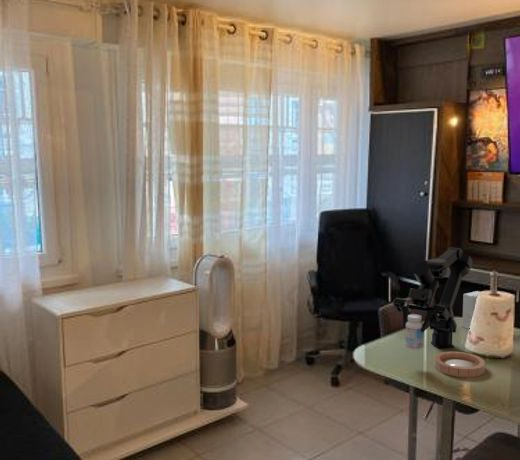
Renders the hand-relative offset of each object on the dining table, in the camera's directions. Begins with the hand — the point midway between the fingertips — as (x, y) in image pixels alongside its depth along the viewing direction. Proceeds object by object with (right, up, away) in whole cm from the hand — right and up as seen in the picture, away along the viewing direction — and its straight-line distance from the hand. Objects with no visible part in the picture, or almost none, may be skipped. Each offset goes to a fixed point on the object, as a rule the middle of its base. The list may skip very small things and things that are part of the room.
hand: (412, 329), depth 183 cm
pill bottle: (+1, -7, +2) cm, 7 cm away
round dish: (+16, -13, 0) cm, 21 cm away
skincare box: (+38, -7, +42) cm, 57 cm away
